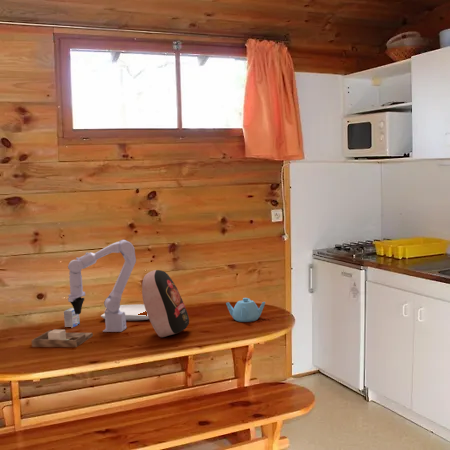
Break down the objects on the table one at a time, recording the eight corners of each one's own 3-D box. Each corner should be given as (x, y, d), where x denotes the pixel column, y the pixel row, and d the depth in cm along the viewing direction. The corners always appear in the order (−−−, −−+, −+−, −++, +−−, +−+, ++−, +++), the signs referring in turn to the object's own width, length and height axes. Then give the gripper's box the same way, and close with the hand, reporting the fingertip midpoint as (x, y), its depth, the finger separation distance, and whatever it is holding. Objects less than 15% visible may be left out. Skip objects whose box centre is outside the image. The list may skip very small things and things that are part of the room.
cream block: (65, 339, 262) (65, 329, 261) (59, 342, 256) (59, 332, 256) (54, 339, 263) (54, 329, 263) (48, 342, 258) (47, 332, 257)
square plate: (150, 322, 295) (150, 315, 295) (100, 322, 300) (99, 315, 300) (165, 310, 322) (165, 303, 322) (118, 310, 327) (118, 304, 327)
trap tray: (92, 336, 272) (92, 329, 272) (76, 347, 254) (75, 340, 254) (51, 336, 276) (50, 329, 275) (32, 346, 258) (31, 340, 258)
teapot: (268, 319, 289) (267, 297, 289) (244, 324, 281) (243, 302, 280) (249, 314, 302) (248, 293, 301) (225, 319, 293) (224, 298, 292)
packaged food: (181, 341, 256) (177, 273, 254) (138, 340, 260) (134, 274, 258) (192, 328, 278) (189, 266, 275) (153, 328, 281) (150, 267, 279)
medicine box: (72, 328, 290) (71, 310, 289) (64, 328, 291) (63, 310, 290) (79, 324, 297) (78, 307, 297) (71, 324, 298) (70, 307, 298)
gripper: (74, 282, 282) (76, 310, 283) (61, 288, 268) (63, 317, 269) (88, 282, 281) (90, 310, 282) (75, 288, 267) (77, 317, 268)
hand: (78, 313), depth 276 cm, fingers closed
